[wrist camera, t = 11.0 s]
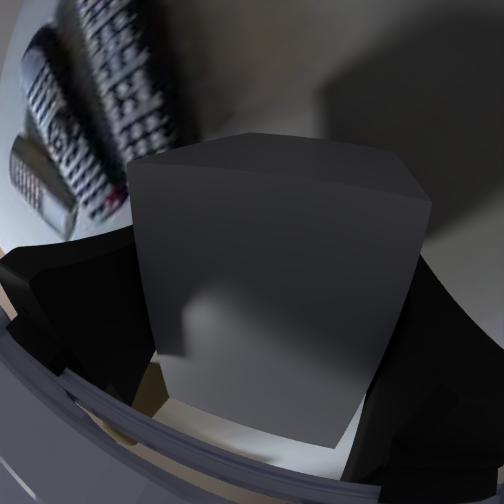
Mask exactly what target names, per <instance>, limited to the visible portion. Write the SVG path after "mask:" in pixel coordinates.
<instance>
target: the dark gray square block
mask: <svg viewBox="0 0 504 504" xmlns="http://www.w3.org/2000/svg"><path fill="white" fill-rule="evenodd" d="M127 171H128V183H129V194H130V203H131V212H132V220H133V228H134V236H135V243H136V250H137V256H138V262H139V268H140V274H141V280H142V285H143V291H144V296H145V301H146V306H147V311H148V316H149V320H150V325H151V329H152V334H153V338H154V342H155V346H156V350H157V354H158V358H159V362H160V366H161V370H162V374H163V377H164V381H165V384H166V388H167V391H168V395H169V397H172V398H174V399H176V400H179V401H181V402H183V403H186V404H188V405H190V406H193V407H195V408H198V409H200V410H203V411H205V412H208V413H211V414H213V415H216V416H219V417H221V418H224V419H227V420H230V421H233V422H236V423H239V424H242V425H245V426H248V427H251V428H254V429H257V430H260V431H264V432H267V433H271V434H274V435H278V436H281V437H285V438H289V439H293V440H296V441H301V442H305V443H309V444H313V445H318V446H322V447H327V448H332V449H335V448H336V446H337V444H338V443H339V441H340V439H341V438H342V436H343V434H344V432H345V431H346V429H347V427H348V425H349V424H350V422H351V420H352V418H353V416H354V414H355V413H356V411H357V409H358V407H359V405H360V403H361V401H362V399H363V397H364V395H365V393H366V391H367V389H368V387H369V385H370V383H371V381H372V379H373V377H374V375H375V373H376V371H377V368H378V366H379V364H380V362H381V359H382V357H383V355H384V353H385V350H386V348H387V346H388V343H389V341H390V338H391V336H392V333H393V331H394V328H395V326H396V323H397V321H398V318H399V315H400V313H401V310H402V307H403V304H404V302H405V299H406V296H407V293H408V290H409V287H410V284H411V281H412V278H413V275H414V272H415V268H416V265H417V262H418V258H419V255H420V251H421V248H422V244H423V240H424V237H425V233H426V229H427V225H428V221H429V216H430V212H431V208H432V203H433V202H432V201H431V199H430V198H429V196H428V195H427V194H426V192H425V191H424V189H423V188H422V187H421V185H420V184H419V183H418V181H417V180H416V179H415V177H414V176H413V175H412V173H411V172H410V171H409V170H408V168H407V167H406V166H405V164H404V163H403V162H402V161H401V159H400V158H399V157H398V156H397V155H396V153H395V152H394V151H390V150H385V149H380V148H374V147H369V146H363V145H357V144H351V143H344V142H338V141H331V140H323V139H315V138H307V137H297V136H287V135H276V134H264V133H244V134H239V135H234V136H229V137H224V138H220V139H215V140H211V141H206V142H202V143H198V144H193V145H189V146H185V147H181V148H177V149H174V150H170V151H166V152H162V153H159V154H155V155H152V156H148V157H145V158H141V159H138V160H135V161H131V162H128V163H127Z"/></svg>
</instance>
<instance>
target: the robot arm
mask: <svg viewBox="0 0 504 504" xmlns="http://www.w3.org/2000/svg"><path fill="white" fill-rule="evenodd" d="M0 283H1V285H2V287H3V289H4V291H5V293H6V295H7V297H8V298H9V300H10V302H11V304H12V305H13V307H14V309H15V310H16V312H17V314H18V315H17V316H16V317H15V318H14V319H13V320H12V321H11V320H10V318H9V317H8V315H7V313H6V312H5V311H4V310H3V308H2V307H1V306H0V504H238V503H236V502H233V501H230V500H227V499H225V498H223V497H220V496H218V495H215V494H213V493H211V492H208V491H206V490H204V489H202V488H199V487H197V486H195V485H193V484H190V483H189V482H186V481H184V480H182V479H180V478H178V477H176V476H174V475H172V474H170V473H168V472H166V471H165V470H162V469H161V468H159V467H157V466H155V465H153V464H151V463H150V462H148V461H146V460H144V459H143V458H141V457H139V456H137V455H136V454H134V453H132V452H131V451H129V450H127V449H125V448H124V447H123V446H121V445H119V444H118V443H116V441H115V440H114V439H113V438H111V436H109V435H108V434H107V433H106V432H104V431H103V430H102V429H101V428H100V427H99V426H98V425H97V424H96V423H95V422H94V421H93V420H92V419H91V417H90V416H89V415H88V414H87V413H86V412H85V411H84V410H83V409H81V408H80V407H79V406H78V405H77V404H76V403H78V404H79V405H80V406H82V407H83V408H85V409H86V410H88V411H89V412H90V413H92V414H93V415H95V416H96V417H98V418H99V419H101V420H102V421H104V422H105V423H107V424H109V425H110V426H112V427H113V428H115V429H117V430H118V431H120V432H122V433H123V434H125V435H127V436H128V437H130V438H132V439H134V440H135V441H137V442H139V443H141V444H143V445H145V446H146V447H148V448H150V449H152V450H154V451H156V452H158V453H160V454H162V455H164V456H166V457H168V458H170V459H172V460H174V461H176V462H178V463H180V464H183V465H185V466H187V467H189V468H192V469H194V470H196V471H199V472H201V473H203V474H206V475H208V476H211V477H213V478H216V479H219V480H221V481H224V482H227V483H229V484H232V485H235V486H238V487H241V488H244V489H247V490H250V491H253V492H257V493H260V494H263V495H267V496H270V497H274V498H278V499H282V500H285V501H290V502H294V503H298V504H504V483H503V484H497V478H498V468H500V467H502V466H503V465H504V349H502V348H501V347H500V346H499V345H498V344H497V343H496V342H495V341H493V340H492V339H491V338H490V337H489V336H488V335H487V334H486V333H485V332H484V331H483V330H482V329H481V328H480V327H479V326H478V325H477V324H476V323H475V322H474V321H473V320H472V319H471V318H470V317H469V316H468V315H467V314H466V313H465V311H464V310H463V309H462V308H461V307H460V306H459V305H458V303H457V302H456V301H455V300H454V299H453V298H452V296H451V295H450V294H449V293H448V292H447V290H446V289H445V288H444V286H443V285H442V284H441V282H440V281H439V280H438V278H437V277H436V276H435V274H434V273H433V272H432V270H431V269H430V267H429V266H428V265H427V263H426V262H425V260H424V259H423V257H422V256H421V254H420V255H419V258H418V262H417V265H416V268H415V272H414V275H413V278H412V281H411V284H410V287H409V290H408V293H407V296H406V299H405V302H404V304H403V307H402V310H401V313H400V315H399V318H398V321H397V323H396V326H395V328H394V331H393V333H392V336H391V338H390V341H389V343H388V346H387V348H386V350H385V353H384V355H383V357H382V359H381V362H380V364H379V366H378V368H377V371H376V373H375V375H374V377H373V379H372V381H371V383H370V385H369V387H368V389H367V391H366V396H365V401H364V405H363V409H362V413H361V417H360V421H359V424H358V428H357V432H356V435H355V438H354V442H353V445H352V448H351V451H350V454H349V457H348V460H347V463H346V466H345V468H344V471H343V474H342V477H341V479H340V481H339V480H333V479H328V478H323V477H318V476H313V475H308V474H304V473H300V472H295V471H291V470H287V469H284V468H280V467H276V466H273V465H269V464H266V463H262V462H259V461H256V460H253V459H249V458H246V457H243V456H240V455H237V454H235V453H232V452H229V451H226V450H223V449H221V448H218V447H215V446H213V445H210V444H208V443H205V442H203V441H200V440H198V439H195V438H193V437H191V436H188V435H186V434H184V433H182V432H179V431H177V430H175V429H173V428H171V427H168V426H166V425H164V424H162V423H160V422H158V421H156V420H154V419H152V418H150V417H148V416H146V415H144V414H142V413H140V412H139V411H137V410H135V409H133V408H131V406H132V403H133V401H134V398H135V395H136V393H137V390H138V388H139V385H140V383H141V380H142V378H143V376H144V373H145V371H146V369H147V367H148V365H149V362H150V360H151V358H152V356H153V354H154V352H155V350H156V346H155V342H154V338H153V334H152V329H151V325H150V320H149V316H148V311H147V306H146V301H145V296H144V291H143V285H142V280H141V274H140V268H139V262H138V256H137V250H136V243H135V236H134V228H133V225H130V226H127V227H124V228H121V229H118V230H114V231H111V232H108V233H104V234H100V235H96V236H92V237H87V238H83V239H79V240H74V241H68V242H62V243H55V244H48V245H37V246H23V247H17V248H14V249H13V250H11V251H10V252H9V253H7V254H6V255H5V256H4V257H2V258H1V259H0ZM75 402H76V403H75ZM287 504H291V503H287Z"/></svg>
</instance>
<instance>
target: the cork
mask: <svg viewBox="0 0 504 504" xmlns="http://www.w3.org/2000/svg"><path fill="white" fill-rule="evenodd" d="M168 399H169V395H168V391H167V388H166V384H165V381H164V377H163V374H162V370H161V368H159V367H158V366H156V365H154V364H151V363H149V365H148V367H147V369H146V371H145V373H144V376H143V378H142V380H141V383H140V385H139V388H138V390H137V393H136V395H135V398H134V401H133V403H132V406H131V408H133V409H135V410H137V411H139V412H140V413H142V414H144V415H146V416H148V417H150V418H152V417H153V416H154V415H155V414H156V412H157V411H158V410H159V409H160V408H161V407H162V405H163V404H164V403H165V402H166V401H167V400H168ZM103 426H104V428H105V430H107V432H108V433H109V434H110V435H111V436H112V437H114V438H115V439H117V440H118V441H120V442H122V443H124V444H126V445H129V446H133V445H136V444H137V443H138V442H137V441H135V440H134V439H132V438H130V437H128V436H127V435H125V434H123V433H122V432H120V431H118V430H117V429H115V428H113V427H112V426H110V425H109V424H107V423H105V422H104V421H103Z"/></svg>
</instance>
